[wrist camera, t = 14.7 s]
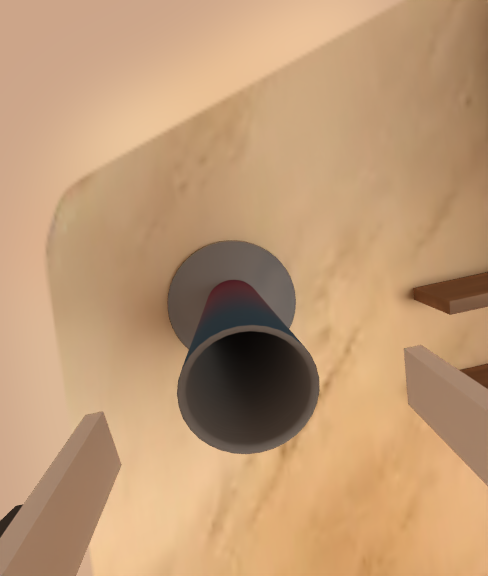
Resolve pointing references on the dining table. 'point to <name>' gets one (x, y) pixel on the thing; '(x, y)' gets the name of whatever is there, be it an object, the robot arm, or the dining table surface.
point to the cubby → (459, 306)
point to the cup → (245, 375)
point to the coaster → (221, 267)
